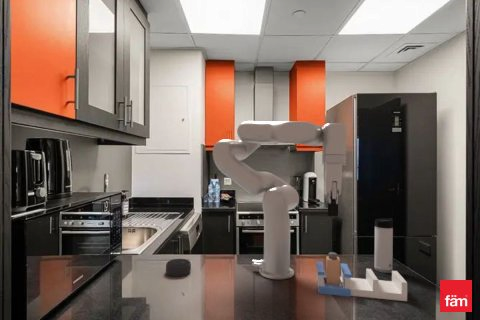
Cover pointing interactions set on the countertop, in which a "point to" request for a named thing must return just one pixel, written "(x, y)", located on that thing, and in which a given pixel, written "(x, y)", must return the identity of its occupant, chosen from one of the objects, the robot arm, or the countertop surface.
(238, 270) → the countertop surface
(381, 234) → the travel mug
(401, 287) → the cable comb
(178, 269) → the smart speaker
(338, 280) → the cord plug
